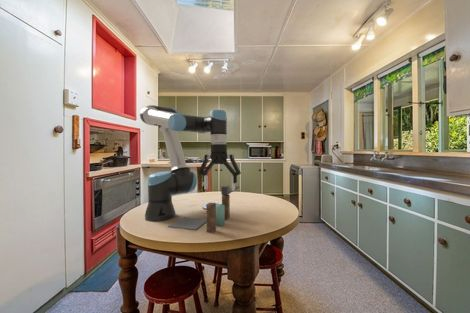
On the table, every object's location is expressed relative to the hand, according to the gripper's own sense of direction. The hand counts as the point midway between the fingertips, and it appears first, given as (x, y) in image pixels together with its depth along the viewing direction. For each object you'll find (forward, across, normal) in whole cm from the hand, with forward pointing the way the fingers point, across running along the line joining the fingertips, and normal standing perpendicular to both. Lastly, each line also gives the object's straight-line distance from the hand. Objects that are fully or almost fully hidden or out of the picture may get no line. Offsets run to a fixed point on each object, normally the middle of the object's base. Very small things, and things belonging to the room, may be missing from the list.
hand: (219, 189), depth 103 cm
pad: (+16, -14, -3) cm, 22 cm away
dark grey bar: (+4, 0, +18) cm, 19 cm away
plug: (+16, 0, 0) cm, 16 cm away
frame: (+16, 0, 0) cm, 16 cm away
